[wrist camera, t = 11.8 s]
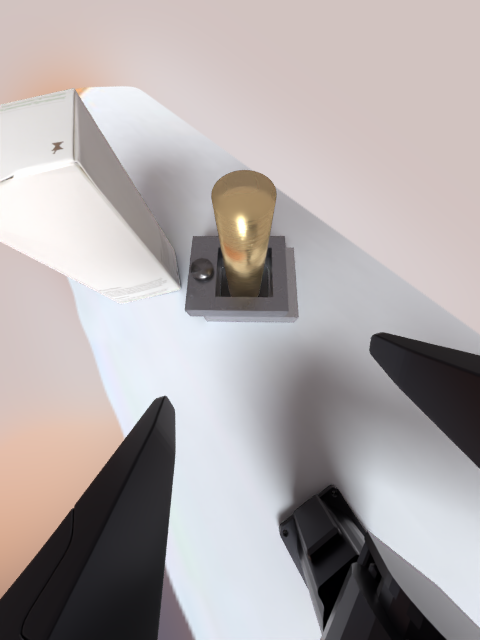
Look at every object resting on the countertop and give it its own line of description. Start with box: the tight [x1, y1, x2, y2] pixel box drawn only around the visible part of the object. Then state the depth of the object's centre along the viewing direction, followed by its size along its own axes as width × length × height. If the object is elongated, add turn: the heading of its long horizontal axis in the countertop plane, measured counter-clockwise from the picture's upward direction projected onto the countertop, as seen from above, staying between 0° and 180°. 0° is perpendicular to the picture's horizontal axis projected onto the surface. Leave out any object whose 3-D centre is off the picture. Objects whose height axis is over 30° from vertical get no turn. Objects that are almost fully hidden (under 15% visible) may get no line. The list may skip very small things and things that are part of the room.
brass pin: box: [211, 170, 276, 297], centre depth 18 cm, size 4×4×13 cm
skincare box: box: [0, 88, 181, 304], centre depth 17 cm, size 8×7×16 cm
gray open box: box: [185, 236, 298, 322], centre depth 22 cm, size 12×9×5 cm
